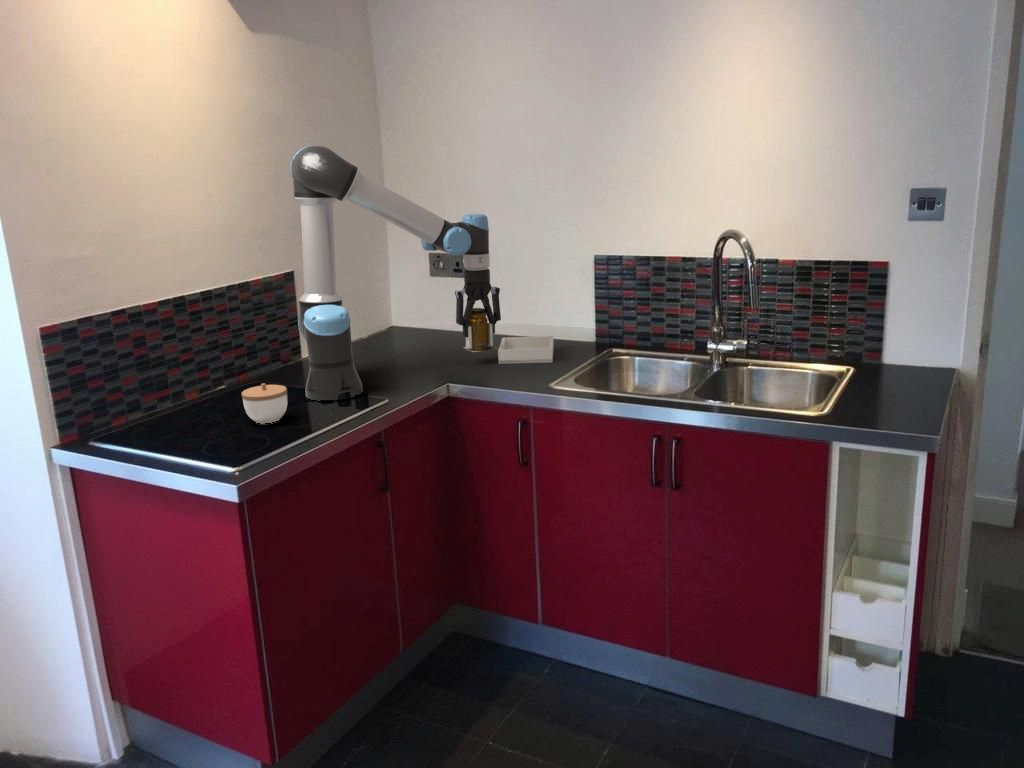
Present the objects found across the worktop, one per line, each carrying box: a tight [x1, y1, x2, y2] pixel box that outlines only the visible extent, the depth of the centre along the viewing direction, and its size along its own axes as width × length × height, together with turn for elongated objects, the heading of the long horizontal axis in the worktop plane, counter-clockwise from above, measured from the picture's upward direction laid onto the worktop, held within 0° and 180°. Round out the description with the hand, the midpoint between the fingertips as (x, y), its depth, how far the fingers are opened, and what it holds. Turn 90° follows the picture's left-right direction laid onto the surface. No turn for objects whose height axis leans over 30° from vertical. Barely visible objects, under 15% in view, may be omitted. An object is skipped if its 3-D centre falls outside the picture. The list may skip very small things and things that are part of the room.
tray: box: [497, 335, 555, 365], centre depth 272 cm, size 16×18×4 cm
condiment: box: [462, 307, 499, 353], centre depth 265 cm, size 7×8×12 cm
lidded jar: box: [241, 382, 288, 425], centre depth 219 cm, size 11×11×9 cm
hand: (479, 346), depth 265 cm, fingers closed on condiment, 6 cm apart
